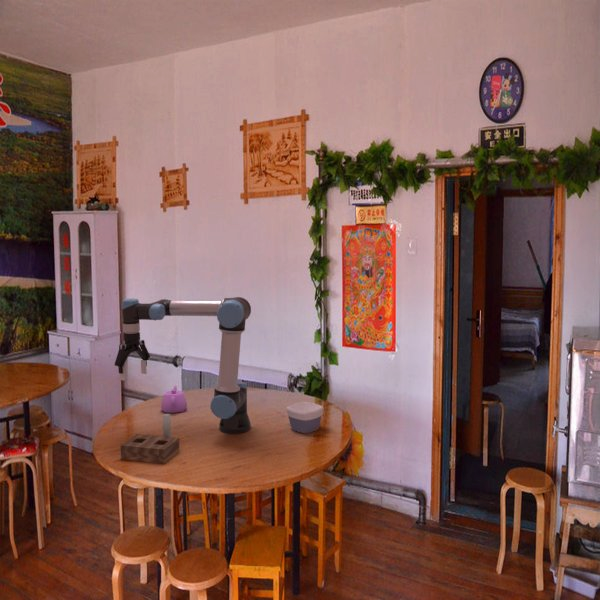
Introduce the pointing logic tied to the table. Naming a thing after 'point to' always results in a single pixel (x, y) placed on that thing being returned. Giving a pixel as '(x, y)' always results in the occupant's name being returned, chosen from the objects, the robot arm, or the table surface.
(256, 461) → the table surface
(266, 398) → the table surface
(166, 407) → the teapot
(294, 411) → the lidded storage container
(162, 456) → the block
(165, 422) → the pin
